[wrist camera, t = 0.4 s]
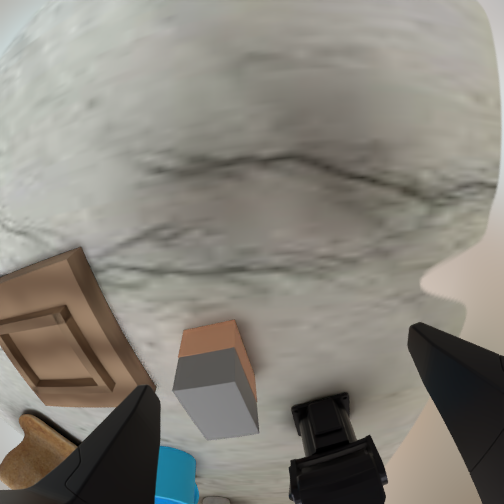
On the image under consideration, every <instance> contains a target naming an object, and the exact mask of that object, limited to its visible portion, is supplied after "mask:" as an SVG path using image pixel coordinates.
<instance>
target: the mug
mask: <svg viewBox="0 0 504 504" xmlns="http://www.w3.org/2000/svg"><path fill="white" fill-rule="evenodd" d="M195 472H196V461H195V459H194V458H193V457H192V456H191V455H190V454H188V453H186V452H184V451H181V450H178V449H175V448H171V447H166V446H160V449H159V458H158V468H157V479H156V491H155V504H197V503H198V500H199V491H198V488H197V485H196V483H195Z"/></svg>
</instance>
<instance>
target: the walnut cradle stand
mask: <svg viewBox="0 0 504 504" xmlns="http://www.w3.org/2000/svg"><path fill="white" fill-rule="evenodd" d="M0 346H1V347H2V349H3V350H4V352H5V353H6V355H7V356H8V358H9V359H10V361H11V362H12V363H13V365H14V366H15V368H16V369H17V370H18V372H19V373H20V374H21V376H22V377H23V378H24V380H25V381H26V382H27V384H28V385H29V386H30V387H31V389H32V390H33V391H34V392H35V394H36V395H37V396H38V397H39V398H40V400H41V401H42V402H43V403H44V404H45V405H46V406H60V407H117V406H118V405H119V404H120V403H121V402H122V401H123V400H124V399H125V398H126V397H127V396H128V395H129V394H130V393H131V392H132V391H133V390H134V389H135V388H136V387H137V386H138V385H145V384H148V385H150V386H151V387H152V389H153V390H154V392H155V391H156V386H155V385H154V383H153V382H152V380H151V378H150V377H149V375H148V374H147V372H146V371H145V369H144V368H143V366H142V364H141V363H140V361H139V360H138V358H137V356H136V355H135V353H134V351H133V350H132V348H131V346H130V344H129V343H128V341H127V339H126V338H125V336H124V334H123V332H122V330H121V329H120V327H119V325H118V323H117V321H116V319H115V318H114V316H113V314H112V312H111V310H110V308H109V306H108V304H107V302H106V300H105V298H104V296H103V294H102V292H101V290H100V288H99V286H98V284H97V282H96V280H95V277H94V275H93V273H92V271H91V269H90V266H89V264H88V262H87V260H86V257H85V255H84V253H83V250H82V248H81V247H79V248H76V249H73V250H71V251H68V252H65V253H62V254H59V255H57V256H54V257H51V258H49V259H46V260H43V261H41V262H38V263H35V264H33V265H30V266H28V267H25V268H22V269H20V270H17V271H15V272H12V273H10V274H7V275H5V276H2V277H0Z"/></svg>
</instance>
